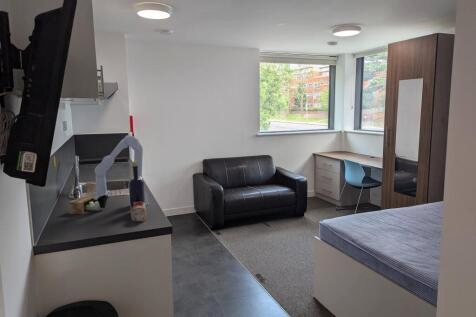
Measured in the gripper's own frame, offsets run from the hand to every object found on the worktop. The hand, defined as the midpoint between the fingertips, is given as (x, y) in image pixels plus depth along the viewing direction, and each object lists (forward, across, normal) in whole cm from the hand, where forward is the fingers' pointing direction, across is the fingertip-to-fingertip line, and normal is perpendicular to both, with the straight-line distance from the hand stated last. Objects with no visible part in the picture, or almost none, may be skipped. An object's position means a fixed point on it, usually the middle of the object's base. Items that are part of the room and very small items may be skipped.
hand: (102, 207), depth 206 cm
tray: (+1, 0, -6) cm, 6 cm away
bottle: (+1, +3, +24) cm, 24 cm away
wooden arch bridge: (+1, 0, -11) cm, 11 cm away
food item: (+2, +14, +30) cm, 33 cm away
